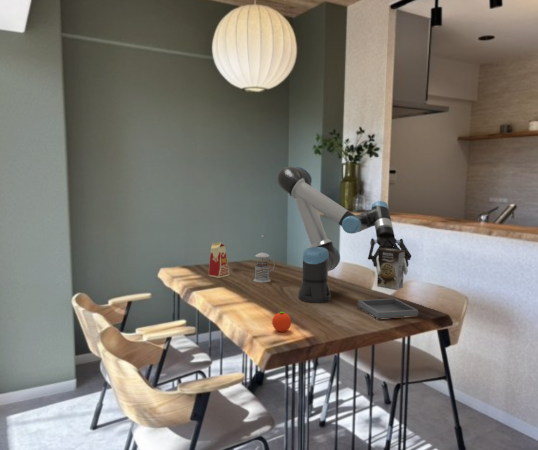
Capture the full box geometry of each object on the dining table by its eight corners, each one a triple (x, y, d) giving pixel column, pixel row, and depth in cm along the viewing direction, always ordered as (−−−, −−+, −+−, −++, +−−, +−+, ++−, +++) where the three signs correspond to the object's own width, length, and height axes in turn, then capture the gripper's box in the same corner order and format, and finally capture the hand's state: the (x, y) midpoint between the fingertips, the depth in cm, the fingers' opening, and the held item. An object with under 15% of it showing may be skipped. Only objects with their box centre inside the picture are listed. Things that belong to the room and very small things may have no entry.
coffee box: (376, 286, 182) (377, 248, 180) (383, 284, 187) (384, 247, 185) (397, 290, 176) (398, 251, 174) (403, 287, 181) (405, 249, 179)
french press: (253, 278, 242) (254, 233, 240) (274, 278, 242) (275, 234, 239) (252, 282, 233) (253, 236, 230) (274, 282, 232) (274, 236, 230)
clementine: (271, 327, 162) (271, 308, 161) (289, 327, 162) (290, 308, 162) (272, 334, 154) (272, 315, 153) (292, 334, 154) (292, 315, 154)
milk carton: (229, 275, 249) (229, 240, 247) (219, 278, 241) (219, 242, 239) (217, 273, 254) (217, 239, 251) (206, 276, 246) (206, 241, 244)
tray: (377, 320, 172) (378, 312, 172) (357, 307, 189) (358, 300, 189) (417, 317, 176) (418, 310, 176) (394, 304, 194) (395, 298, 193)
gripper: (408, 236, 195) (418, 278, 181) (357, 235, 195) (363, 277, 181) (412, 225, 189) (423, 268, 175) (359, 225, 189) (366, 267, 175)
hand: (392, 272), depth 178 cm, fingers closed on coffee box, 10 cm apart
